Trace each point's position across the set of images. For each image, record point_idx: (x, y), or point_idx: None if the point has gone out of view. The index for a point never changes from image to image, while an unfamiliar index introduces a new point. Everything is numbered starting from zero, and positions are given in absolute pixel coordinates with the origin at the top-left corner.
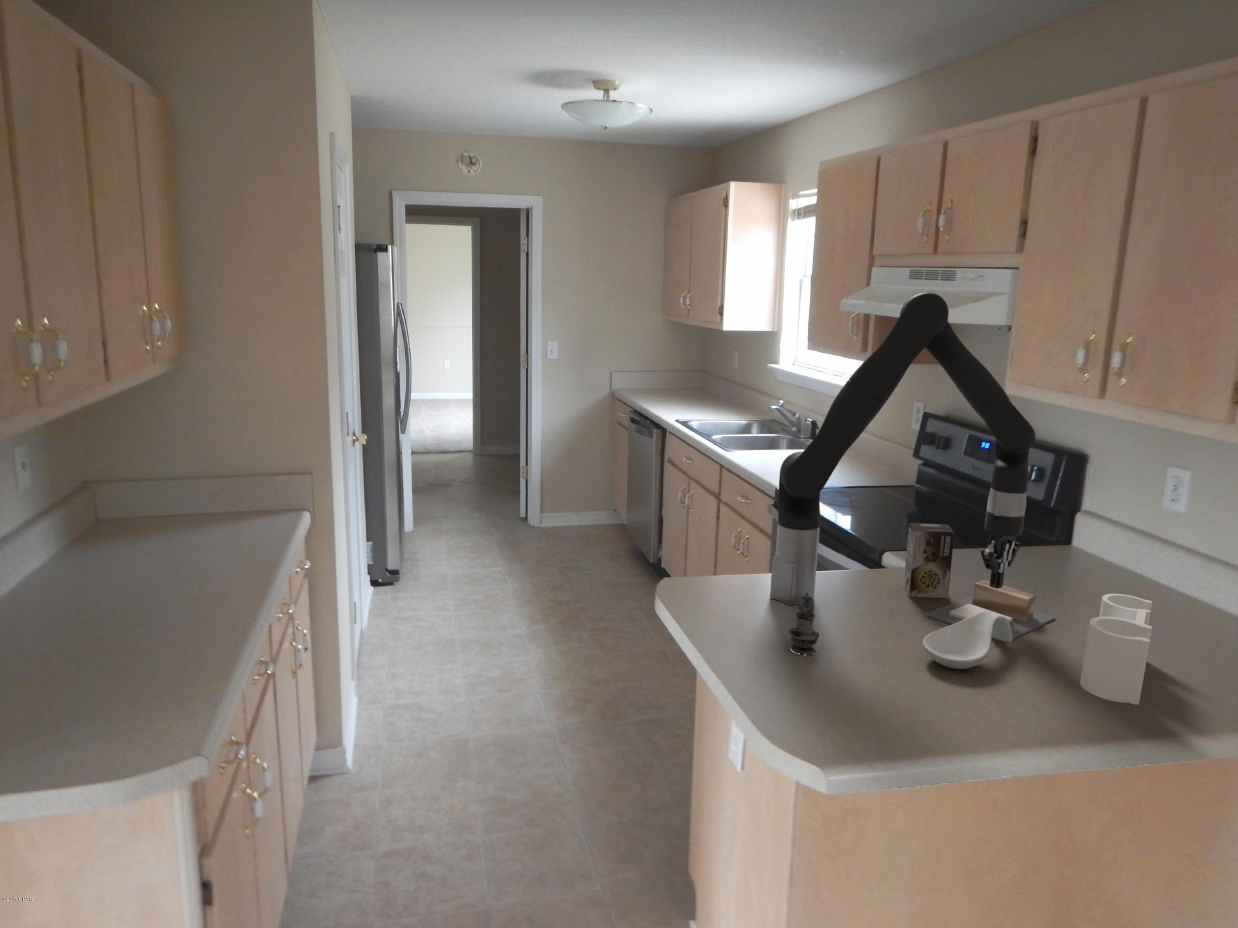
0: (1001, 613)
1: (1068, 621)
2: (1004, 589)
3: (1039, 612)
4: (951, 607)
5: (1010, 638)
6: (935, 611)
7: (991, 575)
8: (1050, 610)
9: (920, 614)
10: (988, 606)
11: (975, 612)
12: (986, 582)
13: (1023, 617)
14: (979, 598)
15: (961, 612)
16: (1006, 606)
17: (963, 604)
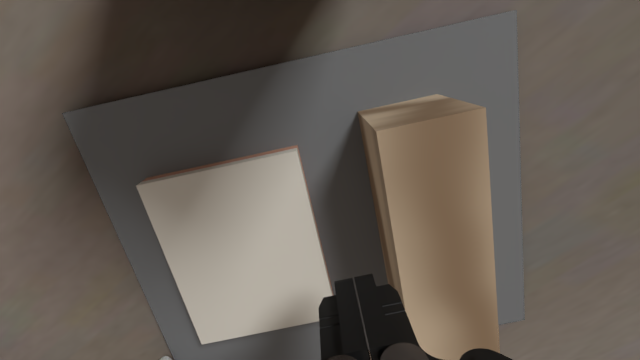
0: (379, 233)
1: (538, 339)
2: (441, 261)
3: (521, 273)
4: (235, 102)
5: None
6: (126, 111)
7: (321, 346)
8: (591, 259)
9: (53, 93)
10: (372, 186)
11: (242, 232)
12: (455, 147)
13: None
14: (368, 150)
15: (183, 211)
16: (389, 266)
17: (317, 97)
